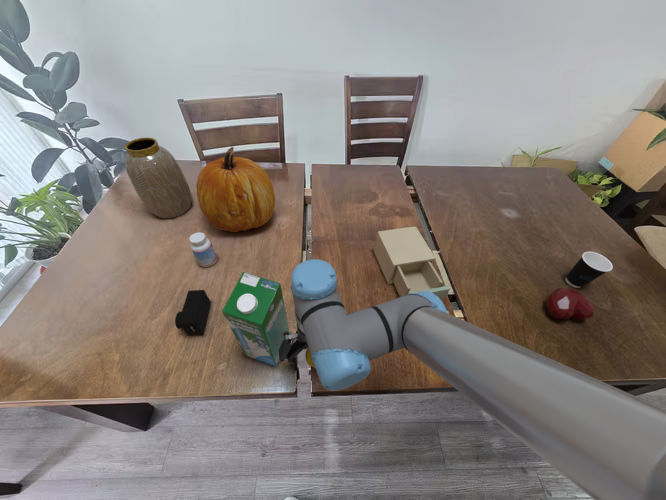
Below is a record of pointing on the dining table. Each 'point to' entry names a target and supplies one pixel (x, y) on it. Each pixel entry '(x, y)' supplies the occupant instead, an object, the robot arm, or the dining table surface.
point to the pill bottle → (202, 249)
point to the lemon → (309, 358)
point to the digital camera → (194, 313)
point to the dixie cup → (588, 269)
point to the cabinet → (400, 249)
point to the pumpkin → (235, 193)
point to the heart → (569, 304)
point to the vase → (157, 178)
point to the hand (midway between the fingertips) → (316, 360)
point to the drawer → (419, 280)
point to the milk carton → (257, 317)
